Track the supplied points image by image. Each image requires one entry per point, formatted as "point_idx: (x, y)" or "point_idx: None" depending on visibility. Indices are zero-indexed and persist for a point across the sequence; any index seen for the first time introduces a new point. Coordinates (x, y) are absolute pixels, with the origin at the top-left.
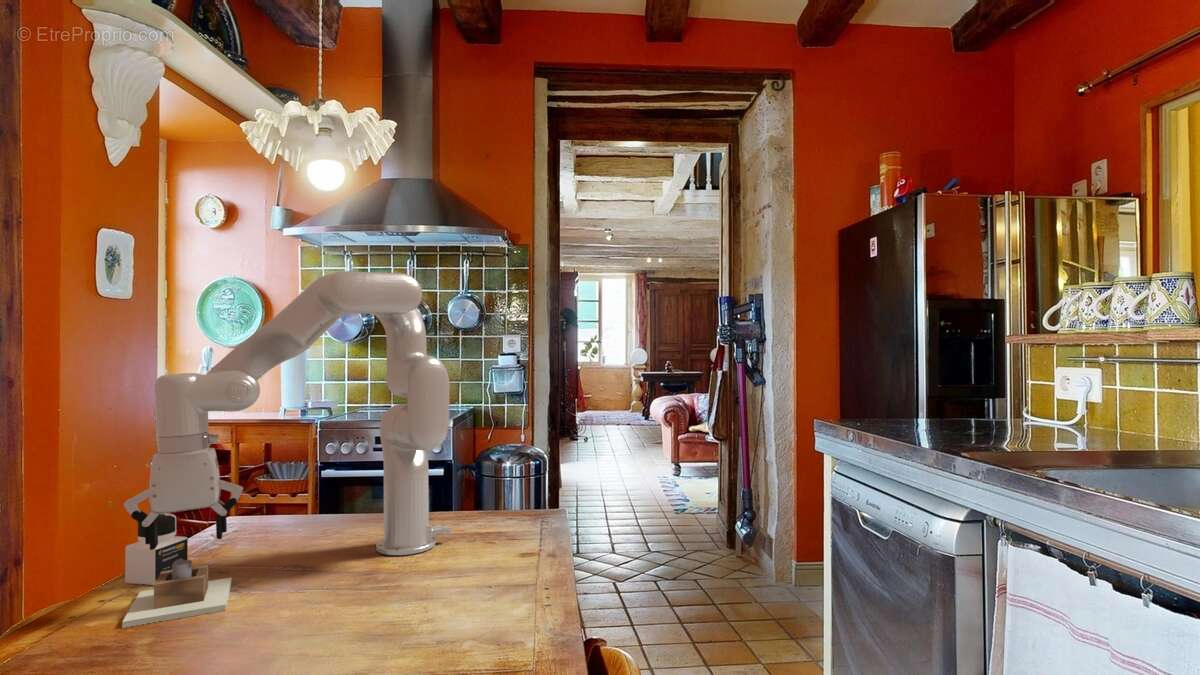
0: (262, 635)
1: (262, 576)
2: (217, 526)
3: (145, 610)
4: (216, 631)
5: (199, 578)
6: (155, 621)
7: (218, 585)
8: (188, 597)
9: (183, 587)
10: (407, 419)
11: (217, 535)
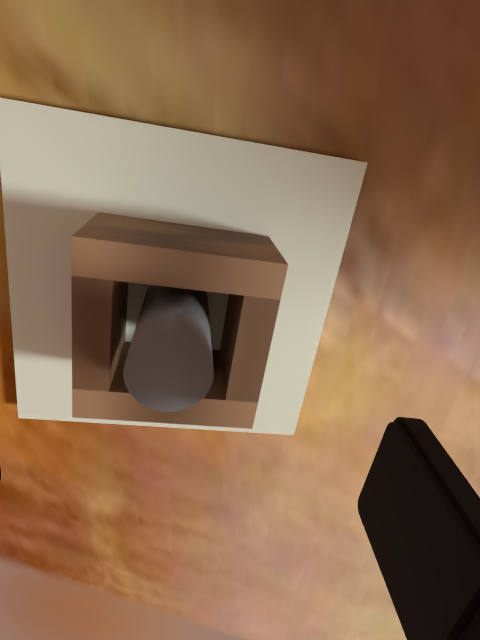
0: (327, 575)
1: (474, 153)
2: (395, 594)
3: (70, 360)
4: (252, 525)
5: (237, 427)
6: None
7: (305, 240)
8: None
9: None
10: None
11: (369, 524)
